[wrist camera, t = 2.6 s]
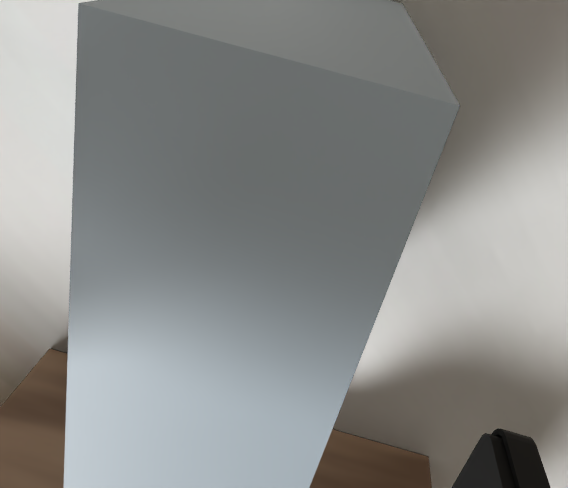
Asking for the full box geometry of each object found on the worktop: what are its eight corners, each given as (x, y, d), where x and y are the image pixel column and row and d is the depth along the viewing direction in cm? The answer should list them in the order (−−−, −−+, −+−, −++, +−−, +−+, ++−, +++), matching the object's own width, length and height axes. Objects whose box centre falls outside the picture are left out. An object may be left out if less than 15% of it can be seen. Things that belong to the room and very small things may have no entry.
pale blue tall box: (284, -28, 18) (78, 3, 5) (402, 3, 18) (459, 105, 5) (224, 269, 24) (59, 605, 11) (312, 294, 23) (241, 659, 11)
